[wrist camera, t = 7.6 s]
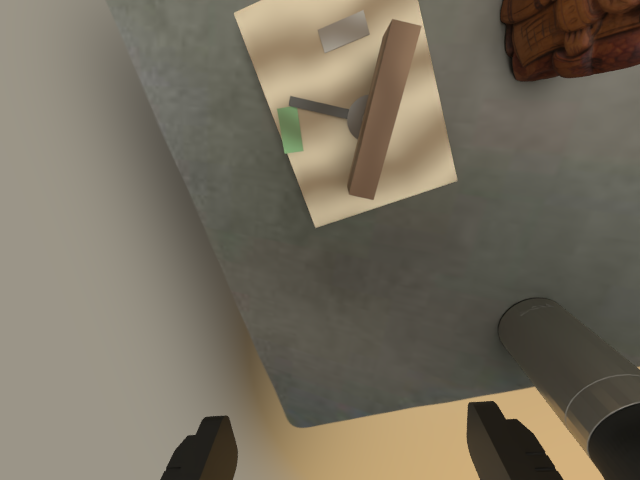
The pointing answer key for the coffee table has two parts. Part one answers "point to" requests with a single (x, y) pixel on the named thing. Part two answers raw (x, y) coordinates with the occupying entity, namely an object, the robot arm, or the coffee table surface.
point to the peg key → (375, 107)
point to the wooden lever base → (345, 98)
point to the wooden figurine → (571, 37)
